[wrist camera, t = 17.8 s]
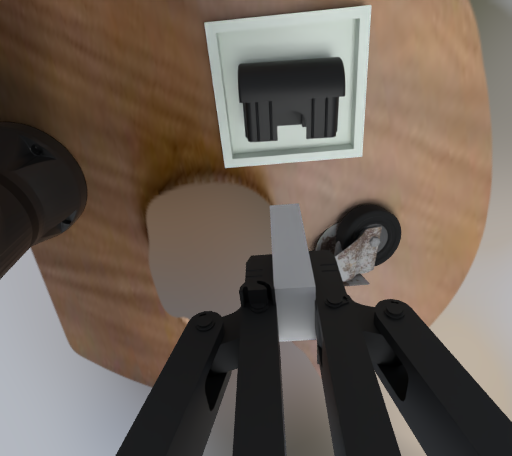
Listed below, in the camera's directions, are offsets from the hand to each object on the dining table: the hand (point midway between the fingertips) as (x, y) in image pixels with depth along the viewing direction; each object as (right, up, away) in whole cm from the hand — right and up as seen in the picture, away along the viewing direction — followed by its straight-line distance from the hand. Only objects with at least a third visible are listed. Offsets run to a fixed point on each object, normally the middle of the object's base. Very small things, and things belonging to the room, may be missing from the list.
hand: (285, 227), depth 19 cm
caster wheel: (+12, 0, +31) cm, 34 cm away
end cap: (+2, +15, +21) cm, 26 cm away
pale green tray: (+2, +17, +20) cm, 27 cm away
